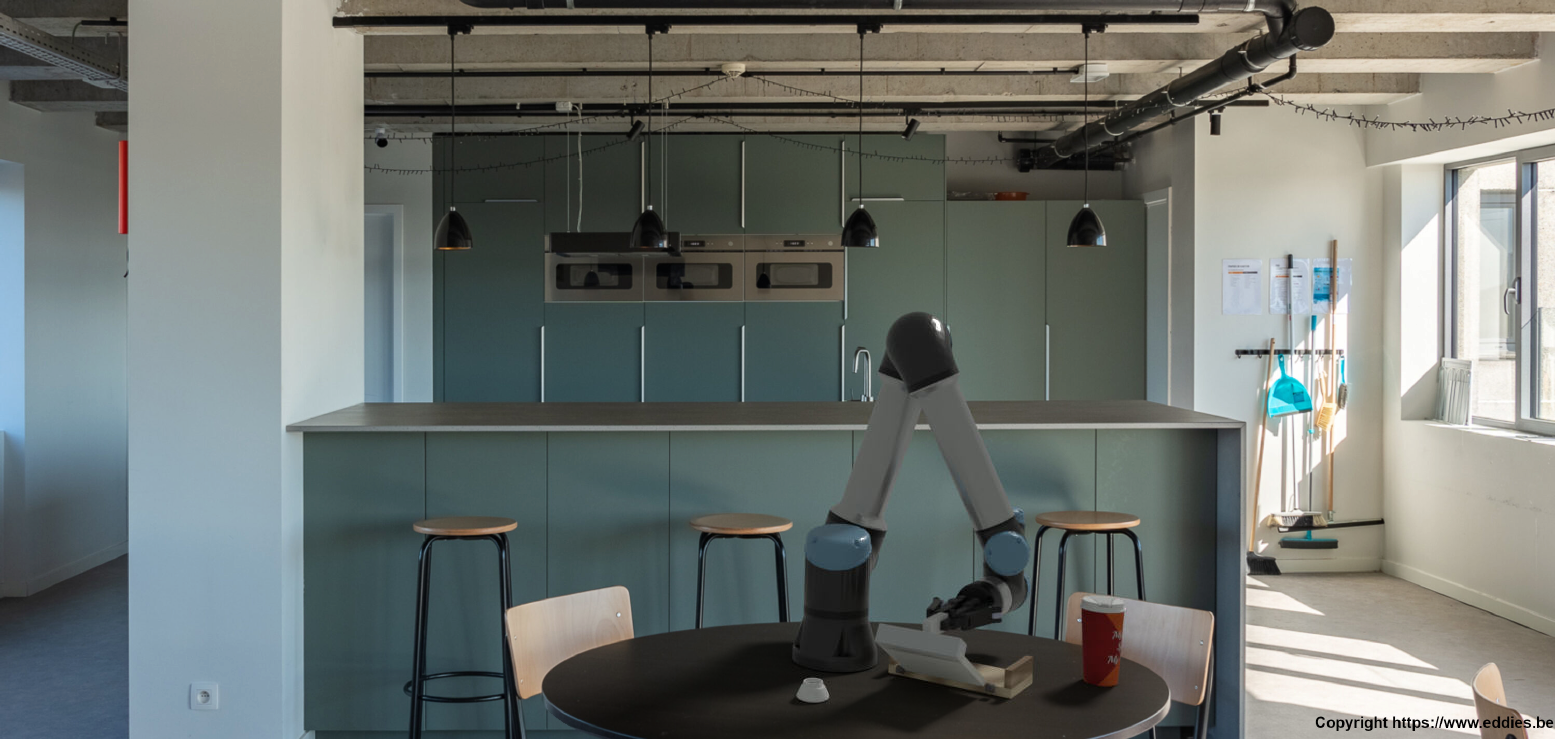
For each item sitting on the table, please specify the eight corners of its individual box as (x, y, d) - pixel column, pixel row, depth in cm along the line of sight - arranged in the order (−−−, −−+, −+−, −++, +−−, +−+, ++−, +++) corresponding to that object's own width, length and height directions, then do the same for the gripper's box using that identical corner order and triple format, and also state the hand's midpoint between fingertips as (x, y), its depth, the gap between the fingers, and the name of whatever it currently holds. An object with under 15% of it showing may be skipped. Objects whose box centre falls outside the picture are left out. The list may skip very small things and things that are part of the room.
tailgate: (905, 670, 175) (874, 641, 165) (910, 653, 176) (879, 623, 166) (984, 686, 167) (956, 656, 157) (988, 668, 169) (960, 638, 159)
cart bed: (882, 675, 177) (883, 649, 177) (913, 659, 187) (914, 634, 187) (1006, 702, 165) (1006, 674, 165) (1032, 683, 175) (1033, 656, 175)
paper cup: (1127, 690, 172) (1129, 606, 172) (1079, 686, 174) (1081, 603, 174) (1121, 676, 180) (1123, 596, 180) (1075, 672, 182) (1077, 593, 181)
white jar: (793, 695, 166) (801, 705, 161) (794, 676, 166) (801, 686, 161) (824, 693, 167) (832, 703, 162) (824, 675, 167) (832, 685, 162)
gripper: (1018, 628, 181) (965, 659, 161) (949, 617, 188) (889, 646, 168) (1018, 585, 181) (965, 611, 161) (949, 576, 188) (890, 600, 168)
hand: (927, 629), depth 165 cm, fingers closed
